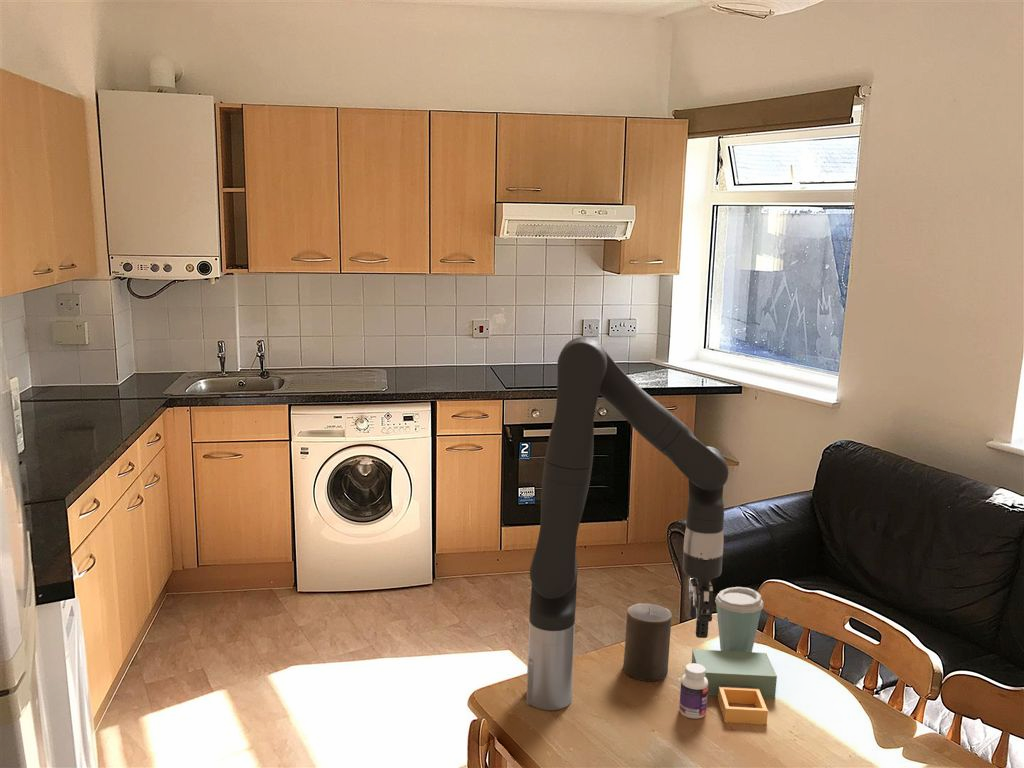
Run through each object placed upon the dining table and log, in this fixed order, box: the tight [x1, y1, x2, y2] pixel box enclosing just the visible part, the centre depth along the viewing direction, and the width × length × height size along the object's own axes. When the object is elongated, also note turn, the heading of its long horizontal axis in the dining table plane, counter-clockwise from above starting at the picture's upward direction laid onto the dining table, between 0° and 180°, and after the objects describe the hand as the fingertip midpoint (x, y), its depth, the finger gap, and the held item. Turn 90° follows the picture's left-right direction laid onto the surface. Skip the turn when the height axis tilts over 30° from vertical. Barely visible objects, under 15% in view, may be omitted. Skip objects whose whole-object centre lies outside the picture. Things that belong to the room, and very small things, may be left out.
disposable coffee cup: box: [714, 586, 764, 652], centre depth 201 cm, size 11×11×15 cm
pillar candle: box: [622, 603, 673, 682], centre depth 193 cm, size 10×10×15 cm
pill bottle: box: [678, 662, 709, 719], centre depth 178 cm, size 5×5×10 cm
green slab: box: [691, 648, 778, 726], centre depth 184 cm, size 16×20×5 cm
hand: (698, 627), depth 175 cm, fingers open, 8 cm apart
